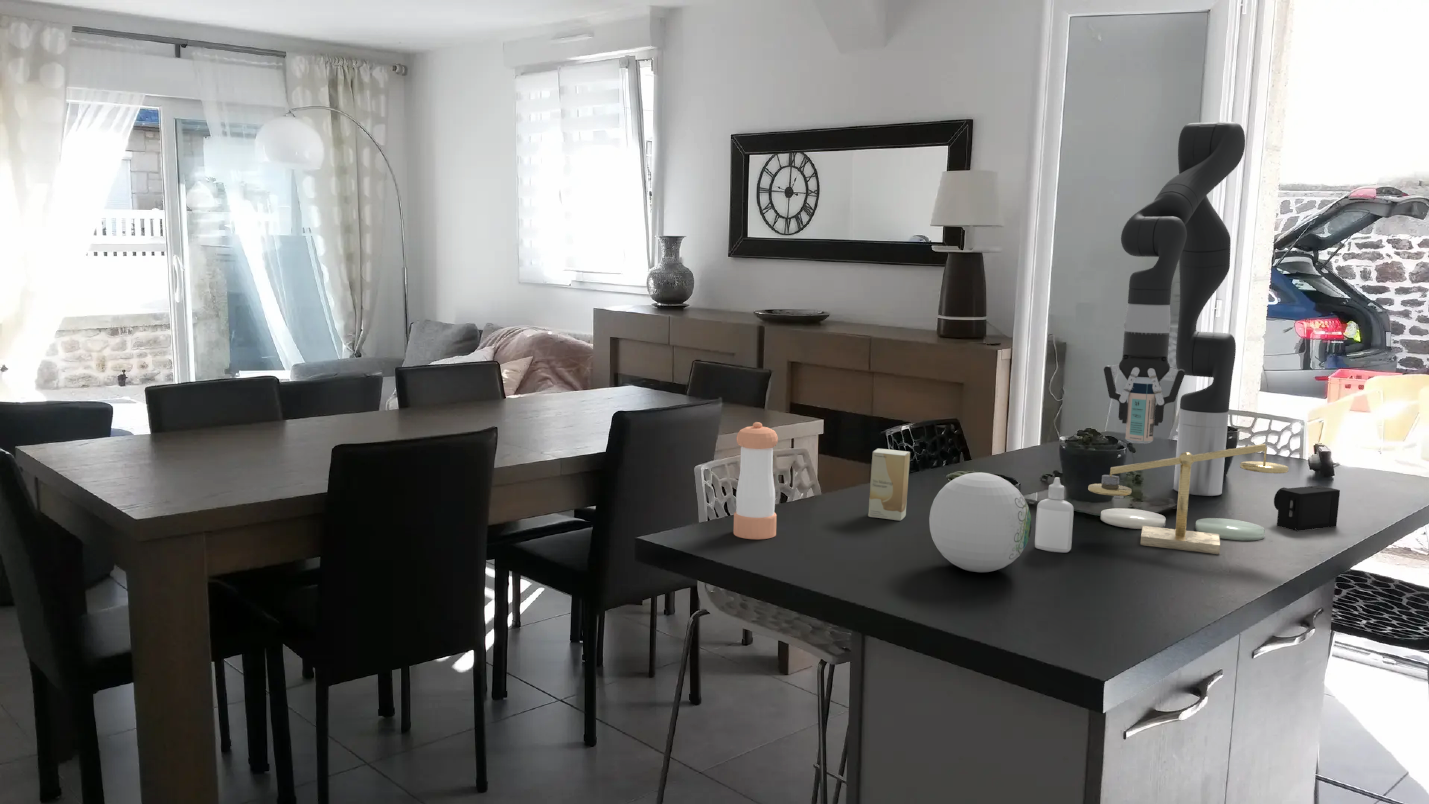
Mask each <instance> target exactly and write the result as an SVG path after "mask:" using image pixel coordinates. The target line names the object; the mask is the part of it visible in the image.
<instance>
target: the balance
mask: <svg viewBox="0 0 1429 804" xmlns="http://www.w3.org/2000/svg"><path fill="white" fill-rule="evenodd" d="M1267 451H1268V447H1267V445H1266V443H1259V444H1254V445H1248V446H1247V445H1245V446H1240V447H1236V448H1235V447H1234V448H1228V449H1227V448H1226V450H1221V451H1214V452H1208V453H1201V454H1195V455H1192V454H1191V453H1189V452H1184V453H1182V454H1180V456H1179V457H1176V456H1175V457H1170V458H1163V459H1157V460H1156V459H1155V460H1151V461H1143V462H1138V463H1137V462H1136V463H1132V464H1130V463H1129V464H1125V465H1117V466H1111V467H1110V471H1109V474H1103V475H1101V483H1092V484H1089V485H1088V488H1087V489H1088V491H1089V492H1091V493H1094V494H1098V495H1104V496H1111V497H1112V496H1113V497H1123V496H1131V495H1132V493H1133V492H1132V491H1133V490H1132V488H1130V487H1128V486H1125V485H1120V476H1118V475H1116V474H1123V473H1128V472H1136V471H1142V470H1143V471H1144V470H1148V469H1150V470H1151V469H1155V468H1156V469H1157V468H1163V467H1170V466H1175V465H1176V464H1181V467H1180V479H1179V492H1178V491H1177V492H1178V494H1177V506H1176V519H1175V529H1174V528H1165V527H1163V528H1158V527H1149V526H1143V528H1142V529H1141V535H1140V544H1139V545H1140V546H1147V547H1156V548H1164V549H1170V550H1171V549H1173V550H1181V551H1188V552H1196V553H1206V554H1214V555H1215V554H1216V555H1220V553H1221V552H1220V549H1221V541H1220V540H1221V538H1219V534H1213V533H1204V532H1198V531H1196V530H1195V531H1194V530H1187V520H1188V509H1189V508H1188V507H1189V496H1190V494H1189V485H1190V473H1191V465H1192V464H1193V462H1196V461H1203V460H1209V459H1216V458H1222V457H1225V458H1227V457H1228V458H1229V457H1234V456H1241V455H1247V454H1254V453H1261V452H1263V453H1264V454H1263V460H1262V461H1254V460H1253V461H1251V460H1250V461H1249V460H1248V461H1247V460H1245V461H1241V462H1240V464H1239V468H1240V469H1243V470H1246V471H1250V472H1255V473H1264V474H1286V473H1288V472H1289V470H1290V469H1289V466H1287V465H1284V464H1280V463H1275V462H1269V461H1268V462H1267Z"/></svg>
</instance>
